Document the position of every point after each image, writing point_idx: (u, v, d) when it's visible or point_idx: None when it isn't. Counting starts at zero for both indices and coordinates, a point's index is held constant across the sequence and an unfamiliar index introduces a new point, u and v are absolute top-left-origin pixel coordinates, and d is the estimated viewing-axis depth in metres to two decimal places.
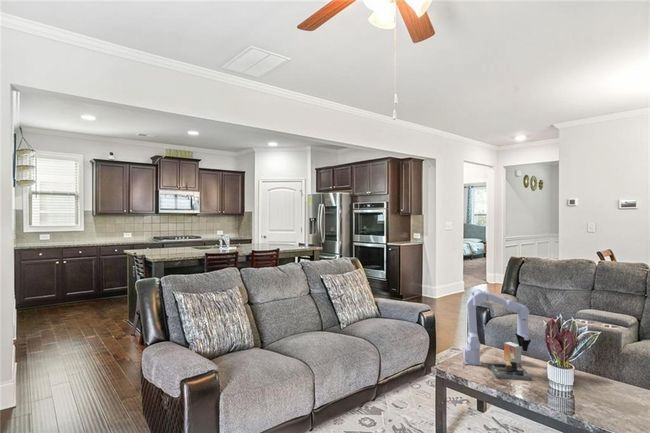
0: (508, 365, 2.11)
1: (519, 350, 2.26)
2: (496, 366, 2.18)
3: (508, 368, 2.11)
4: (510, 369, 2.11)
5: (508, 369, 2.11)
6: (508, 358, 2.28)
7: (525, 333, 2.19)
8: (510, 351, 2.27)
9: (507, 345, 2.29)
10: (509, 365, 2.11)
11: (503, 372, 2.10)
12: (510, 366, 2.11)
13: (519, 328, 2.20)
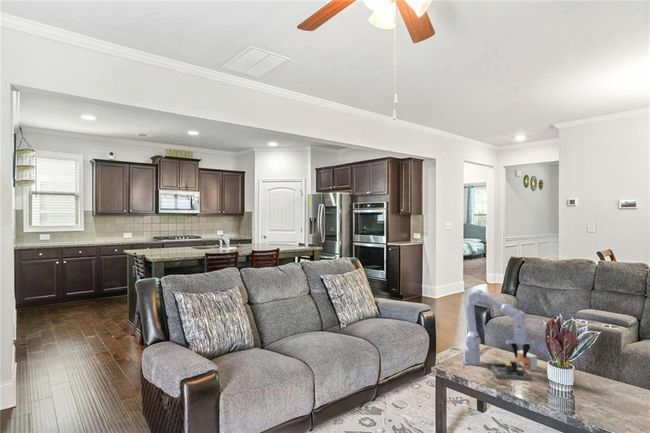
0: (508, 365, 2.11)
1: None
2: (496, 366, 2.18)
3: (508, 368, 2.11)
4: (510, 369, 2.11)
5: (508, 369, 2.11)
6: (517, 357, 2.22)
7: (515, 340, 2.11)
8: (524, 363, 2.18)
9: (529, 361, 2.15)
10: (509, 365, 2.11)
11: (503, 372, 2.10)
12: (510, 366, 2.11)
13: None
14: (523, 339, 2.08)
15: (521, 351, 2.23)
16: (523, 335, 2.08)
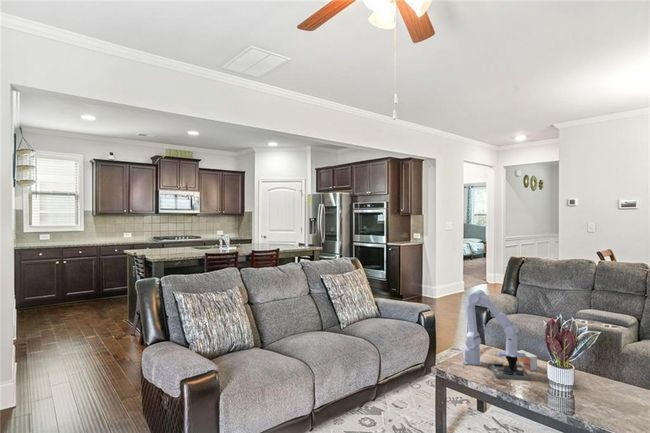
0: (505, 365, 2.11)
1: None
2: (496, 366, 2.18)
3: (505, 368, 2.11)
4: (507, 369, 2.11)
5: (505, 369, 2.11)
6: (517, 357, 2.22)
7: (506, 352, 2.11)
8: (524, 363, 2.18)
9: (529, 361, 2.15)
10: (506, 365, 2.11)
11: (503, 372, 2.10)
12: (507, 366, 2.11)
13: None
14: (514, 352, 2.09)
15: (521, 351, 2.23)
16: (514, 348, 2.09)
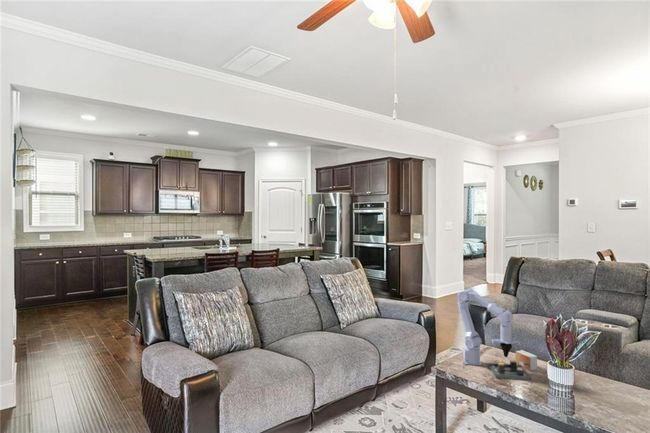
0: (500, 365, 2.12)
1: None
2: (496, 366, 2.18)
3: (500, 368, 2.12)
4: (502, 369, 2.11)
5: (500, 369, 2.12)
6: (517, 357, 2.22)
7: (501, 339, 2.12)
8: (524, 363, 2.18)
9: (529, 361, 2.15)
10: (501, 365, 2.12)
11: (503, 372, 2.10)
12: (502, 366, 2.12)
13: None
14: (508, 338, 2.09)
15: (521, 351, 2.23)
16: (509, 335, 2.09)
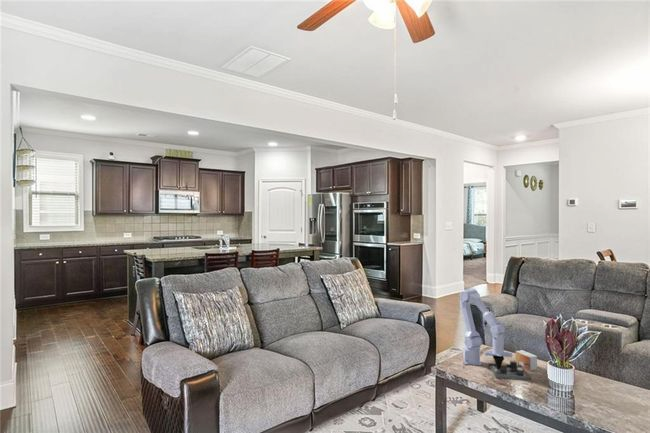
0: (502, 365, 2.12)
1: None
2: None
3: (502, 368, 2.12)
4: (504, 369, 2.11)
5: (502, 369, 2.12)
6: (517, 357, 2.22)
7: (493, 351, 2.13)
8: (524, 363, 2.18)
9: (529, 361, 2.15)
10: (503, 365, 2.12)
11: (503, 372, 2.10)
12: (504, 366, 2.11)
13: None
14: (501, 351, 2.10)
15: (521, 351, 2.23)
16: (501, 347, 2.10)
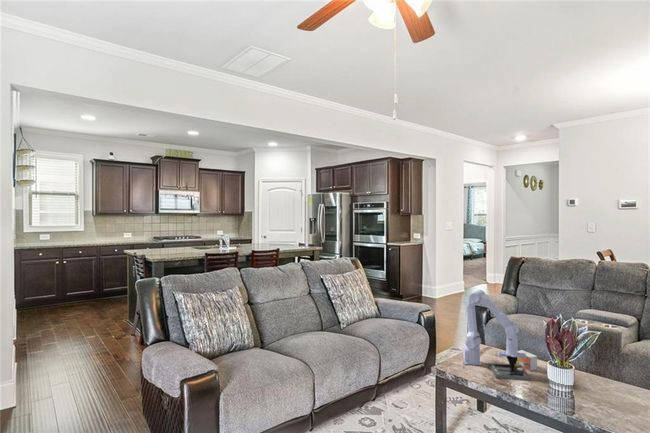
0: (516, 365, 2.10)
1: None
2: (496, 366, 2.18)
3: (516, 368, 2.10)
4: None
5: None
6: (517, 357, 2.22)
7: (507, 352, 2.11)
8: (524, 363, 2.18)
9: (529, 361, 2.15)
10: (517, 365, 2.10)
11: (503, 372, 2.10)
12: (518, 366, 2.10)
13: None
14: (515, 352, 2.09)
15: (521, 351, 2.23)
16: (515, 348, 2.09)
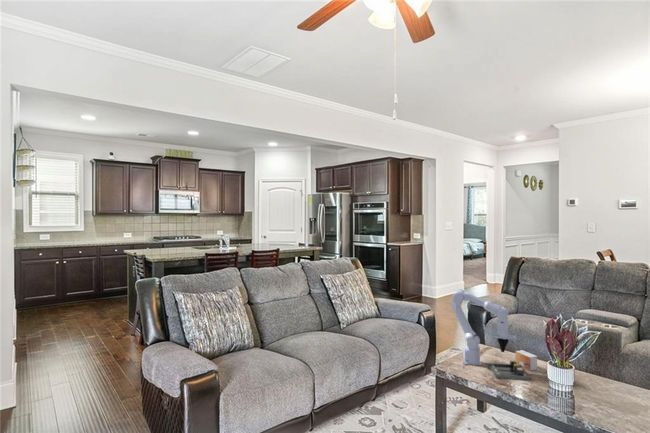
0: (516, 365, 2.10)
1: None
2: (496, 366, 2.18)
3: (516, 368, 2.10)
4: None
5: None
6: (517, 357, 2.22)
7: (498, 334, 2.18)
8: (524, 363, 2.18)
9: (529, 361, 2.15)
10: (517, 365, 2.10)
11: (503, 372, 2.10)
12: (518, 366, 2.10)
13: None
14: (505, 334, 2.16)
15: (521, 351, 2.23)
16: (505, 330, 2.16)
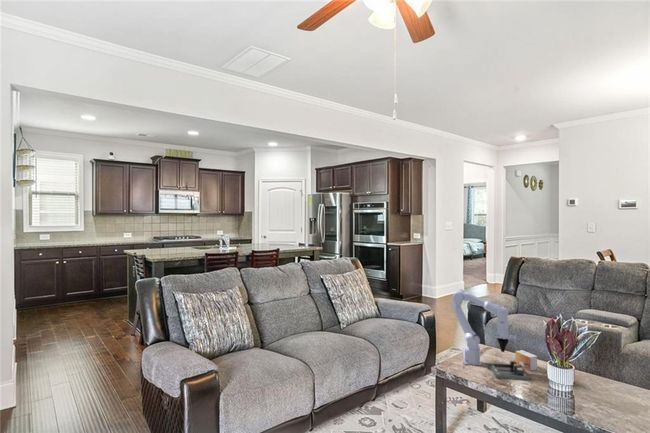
0: (516, 365, 2.10)
1: None
2: (496, 366, 2.18)
3: (516, 368, 2.10)
4: None
5: None
6: (517, 357, 2.22)
7: (498, 334, 2.18)
8: (524, 363, 2.18)
9: (529, 361, 2.15)
10: (517, 365, 2.10)
11: (503, 372, 2.10)
12: (518, 366, 2.10)
13: None
14: (505, 334, 2.16)
15: (521, 351, 2.23)
16: (505, 330, 2.16)
